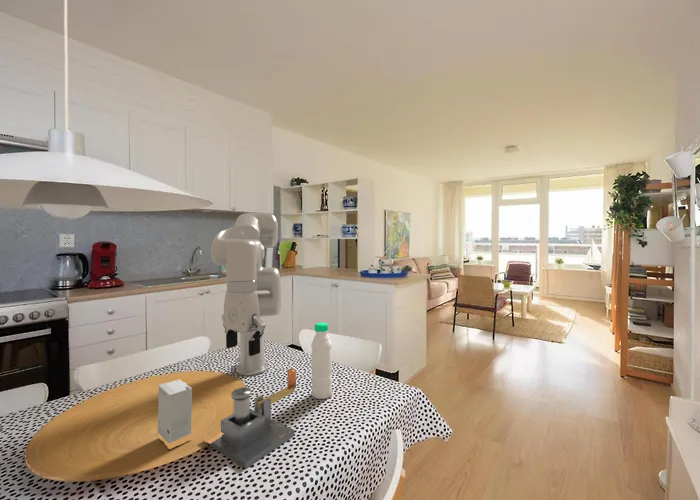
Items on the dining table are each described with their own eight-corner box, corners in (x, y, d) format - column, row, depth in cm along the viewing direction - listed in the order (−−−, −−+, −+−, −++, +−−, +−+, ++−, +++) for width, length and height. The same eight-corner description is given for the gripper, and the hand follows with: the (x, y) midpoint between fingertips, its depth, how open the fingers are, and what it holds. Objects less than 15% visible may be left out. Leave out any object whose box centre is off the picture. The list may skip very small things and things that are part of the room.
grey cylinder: (228, 437, 86) (227, 392, 85) (244, 428, 90) (243, 385, 89) (240, 444, 83) (239, 398, 82) (256, 434, 87) (255, 390, 86)
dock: (203, 441, 86) (202, 408, 86) (253, 415, 99) (252, 386, 99) (245, 469, 76) (244, 431, 75) (294, 435, 89) (294, 403, 88)
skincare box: (157, 438, 87) (156, 385, 87) (180, 428, 92) (179, 377, 92) (169, 452, 82) (168, 394, 82) (193, 440, 87) (192, 386, 86)
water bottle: (329, 401, 108) (328, 326, 107) (308, 399, 109) (308, 325, 108) (334, 391, 115) (333, 321, 114) (315, 389, 116) (314, 320, 115)
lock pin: (255, 407, 91) (255, 384, 90) (291, 388, 102) (291, 368, 102) (261, 410, 89) (261, 386, 89) (297, 391, 100) (297, 370, 100)
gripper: (210, 285, 87) (211, 348, 88) (250, 291, 77) (251, 362, 78) (234, 282, 93) (235, 340, 94) (274, 287, 83) (275, 353, 84)
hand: (242, 350), depth 86 cm, fingers open, 9 cm apart
